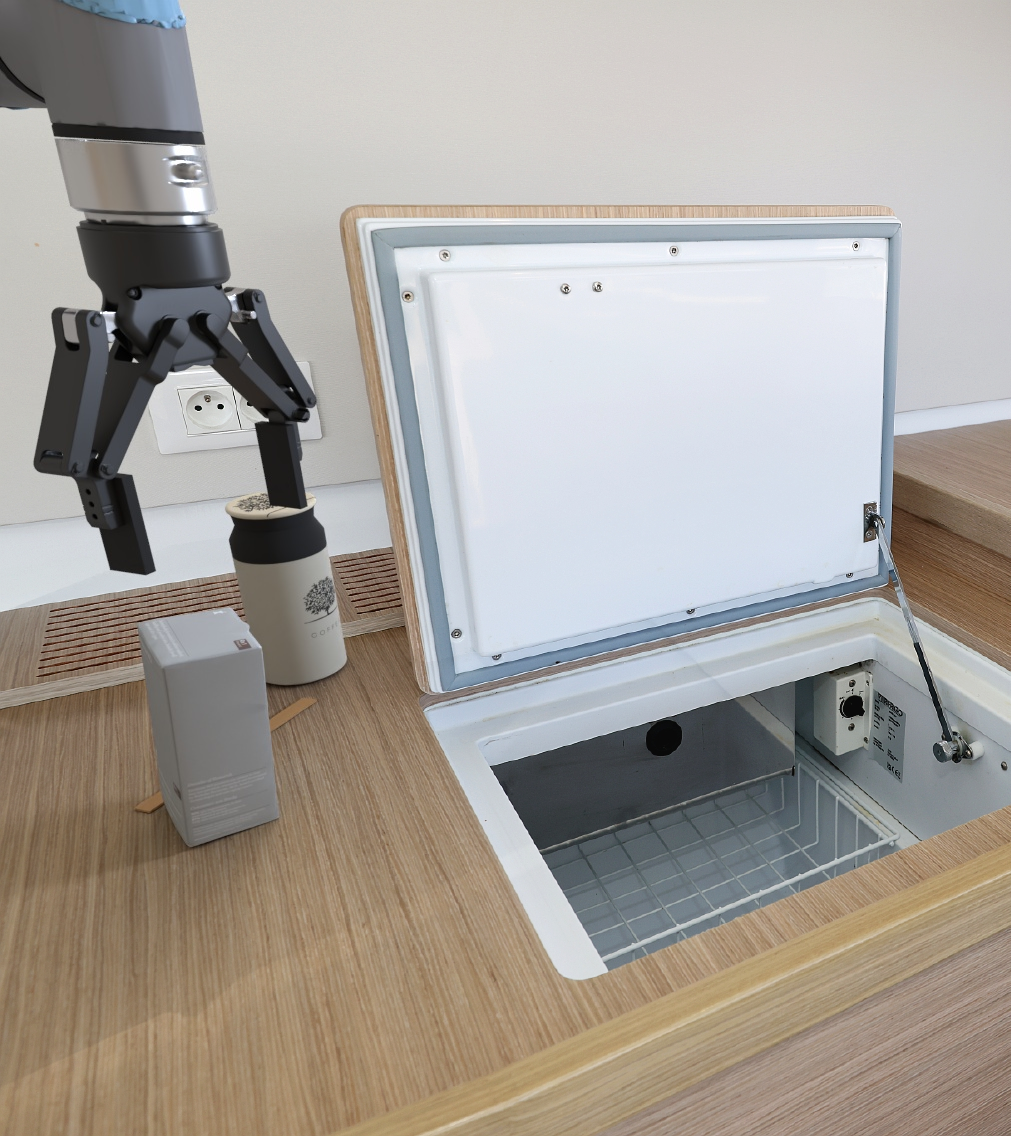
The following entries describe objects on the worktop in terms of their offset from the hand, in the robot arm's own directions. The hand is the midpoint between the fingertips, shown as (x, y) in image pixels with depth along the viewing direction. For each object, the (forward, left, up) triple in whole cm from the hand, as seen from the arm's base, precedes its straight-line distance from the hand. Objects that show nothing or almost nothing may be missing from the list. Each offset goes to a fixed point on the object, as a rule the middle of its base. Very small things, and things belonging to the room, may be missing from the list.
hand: (218, 535), depth 67 cm
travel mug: (-14, +20, -24) cm, 34 cm away
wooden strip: (-9, +6, -24) cm, 26 cm away
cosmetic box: (-3, -1, -24) cm, 24 cm away
